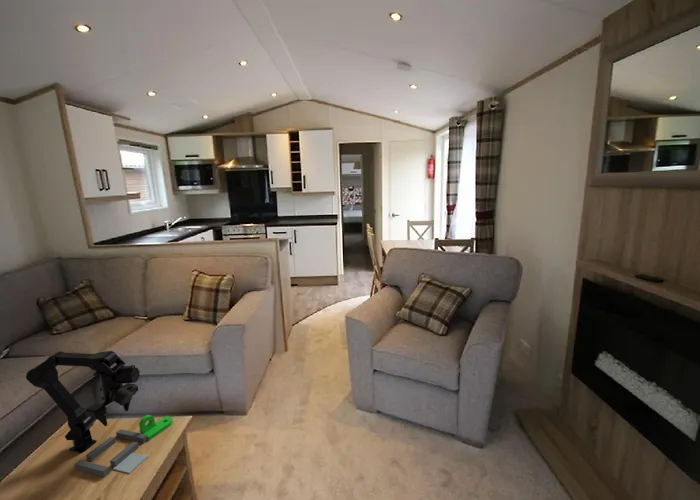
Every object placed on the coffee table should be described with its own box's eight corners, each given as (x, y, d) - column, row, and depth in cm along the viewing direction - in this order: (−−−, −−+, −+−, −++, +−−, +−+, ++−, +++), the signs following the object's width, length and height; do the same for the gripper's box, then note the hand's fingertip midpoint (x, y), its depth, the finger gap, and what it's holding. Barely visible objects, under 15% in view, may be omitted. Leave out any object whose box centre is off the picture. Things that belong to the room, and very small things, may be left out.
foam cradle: (75, 469, 127) (74, 463, 127) (121, 434, 145) (120, 429, 145) (104, 477, 123) (103, 471, 123) (148, 440, 141) (147, 434, 141)
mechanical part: (149, 441, 141) (146, 424, 139) (140, 436, 144) (138, 420, 142) (175, 423, 151) (173, 407, 150) (167, 419, 154) (164, 403, 153)
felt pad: (113, 469, 127) (112, 468, 127) (131, 453, 134) (131, 452, 134) (129, 473, 124) (129, 472, 124) (147, 457, 132) (147, 456, 132)
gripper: (103, 400, 123) (110, 437, 126) (146, 373, 141) (151, 406, 144) (80, 396, 126) (87, 433, 129) (125, 370, 144) (130, 403, 147)
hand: (116, 418), depth 137 cm, fingers open, 9 cm apart
